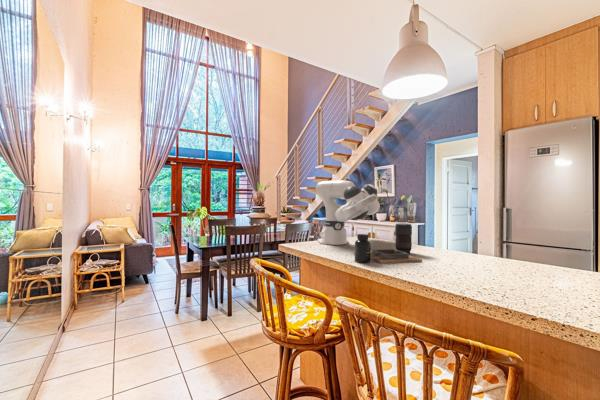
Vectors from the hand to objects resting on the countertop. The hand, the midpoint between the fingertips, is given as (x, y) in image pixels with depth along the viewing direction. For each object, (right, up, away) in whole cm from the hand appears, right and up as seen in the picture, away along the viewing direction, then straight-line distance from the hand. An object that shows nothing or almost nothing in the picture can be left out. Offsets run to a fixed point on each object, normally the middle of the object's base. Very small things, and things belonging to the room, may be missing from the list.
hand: (369, 200), depth 136 cm
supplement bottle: (-6, -27, -12) cm, 30 cm away
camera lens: (+20, -27, +9) cm, 35 cm away
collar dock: (+9, -27, -4) cm, 29 cm away
